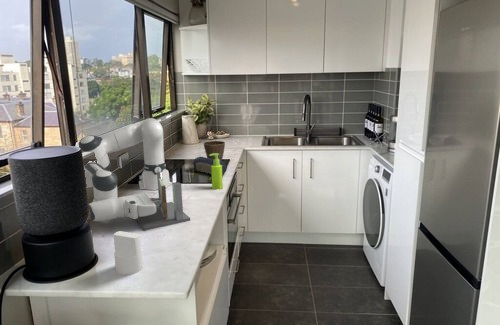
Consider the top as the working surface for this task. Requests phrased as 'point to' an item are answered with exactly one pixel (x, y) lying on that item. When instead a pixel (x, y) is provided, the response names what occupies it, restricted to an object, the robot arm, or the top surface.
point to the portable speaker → (207, 165)
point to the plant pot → (214, 149)
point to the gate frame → (173, 210)
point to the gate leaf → (163, 197)
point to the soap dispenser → (216, 173)
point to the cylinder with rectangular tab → (128, 253)
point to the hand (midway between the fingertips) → (161, 200)
